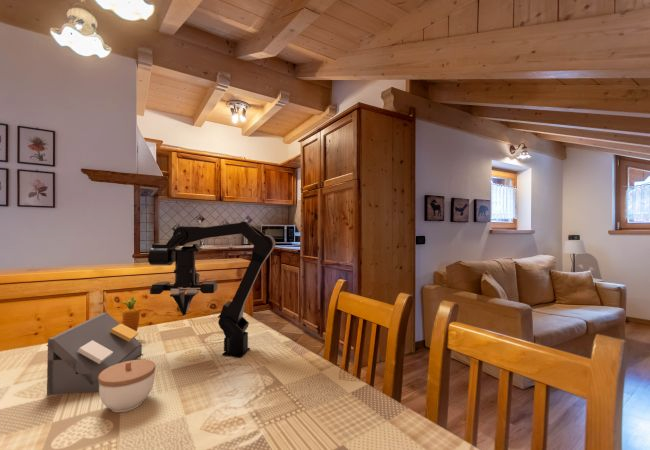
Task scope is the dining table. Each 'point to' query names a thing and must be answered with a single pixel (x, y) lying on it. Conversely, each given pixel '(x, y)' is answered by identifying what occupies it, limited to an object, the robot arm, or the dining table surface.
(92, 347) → the block
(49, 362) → the switch console
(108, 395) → the lidded jar
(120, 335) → the block
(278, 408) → the dining table surface
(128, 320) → the carrot
